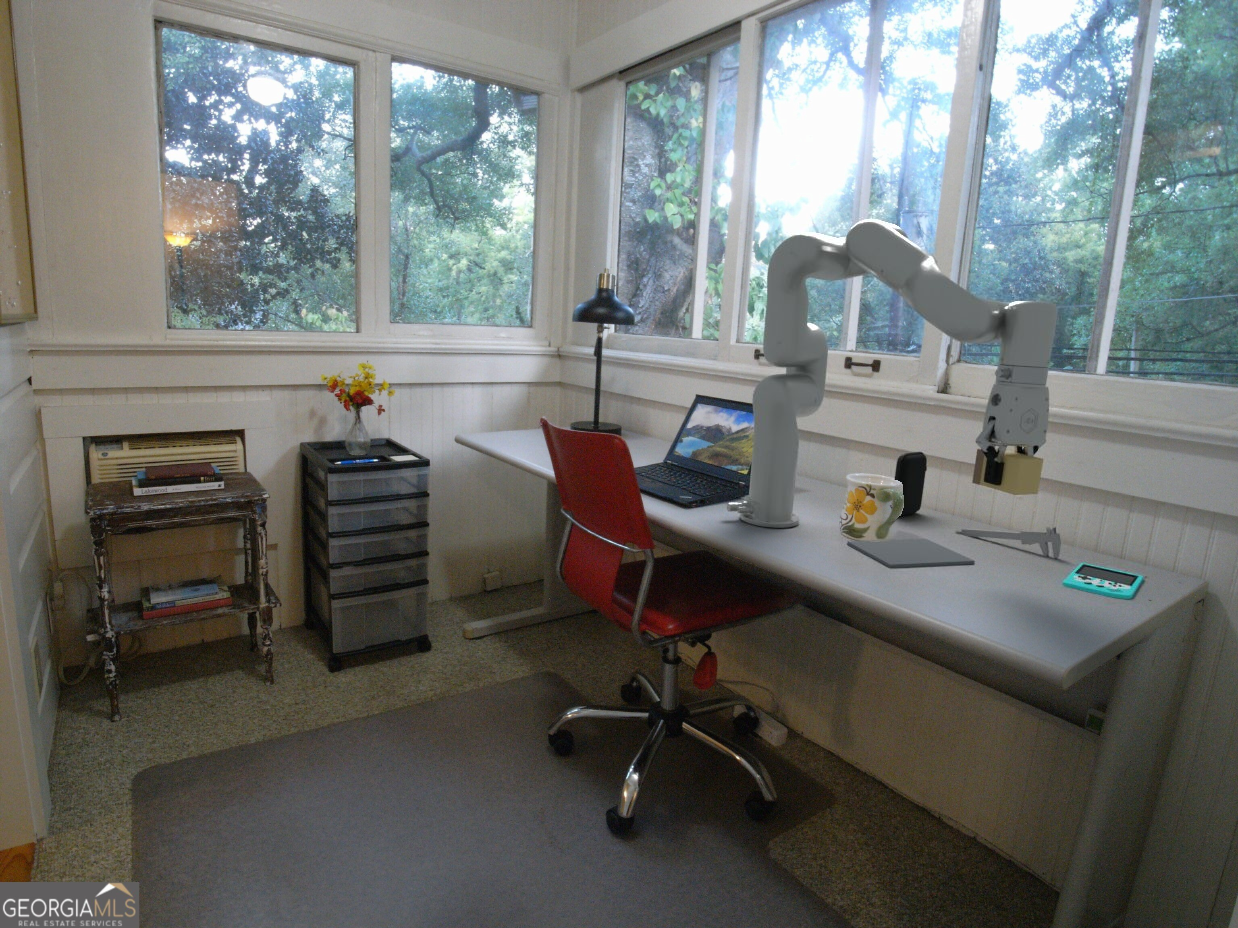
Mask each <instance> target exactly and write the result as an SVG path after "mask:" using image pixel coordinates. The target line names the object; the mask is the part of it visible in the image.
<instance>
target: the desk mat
mask: <svg viewBox="0 0 1238 928" xmlns="http://www.w3.org/2000/svg"><path fill="white" fill-rule="evenodd" d="M889 540H890V541H887V542H870V541H871V540H854V541H853V540H852V541H851V540H850V541H847V543H846V544H847V545H848V546H850V547H851V548H853V549H855V550H857V551H859V552H860V553H862V554H864V555H866V556H868V557H870V558H871V559H873V560H875V561H877V562H879V563H880V564H883V565H884V566H886V567H888V568H889V569H892V568H893V569H894V568H913V567H914V568H916V567H917V568H918V567H934V566H935V567H937V566H938V567H939V566H940V567H941V566H956V565H974V564H975V563H976V561H975V559H971V558H969V557H967V556H966V555H963V554H961V553H958V552H957V551H956V552H955V551H954V550H952V549H950V548H948V547H945V546H943V545H941V544H939V543H937V542H934V541H933V540H931V539H930V540H929V539H927V538H909V539H908V538H907V539H903V538H902V539H889Z"/></svg>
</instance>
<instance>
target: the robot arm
mask: <svg viewBox="0 0 1238 928" xmlns="http://www.w3.org/2000/svg"><path fill="white" fill-rule="evenodd" d="M773 251H774V252H773V253H772V255H771V257H770V259H769V262H768V267H767V272H766V273H767V274H766V285H767V287H766V307H765V318H764V327H763V328H764V331H763V341H762V342H763V343H762V351H763V356H764V359H765V361H766V362H767V363H768V364H770V365H771V366H773V367H778V368H786V369H785V373H778V374H777V373H776V374H771V375H769V376H766V377H764V378H763V379H761V380H760V381H759V382H758V383H757V385H756V386H755V388H754V390H753V393H752V414H753V443H752V457H751V469H750V478H749V481H750V482H749V491H748V496H747V497H744V498H743V499H744V500H741V501H740V502H727V503H726V510H727V512H736V513H737V514H739V517H740V520H742V521H743V522H745V523H748V524H751V525H753V526H758V527H764V528H775V529H776V528H777V529H783V528H784V529H786V528H787V529H788V528H792V527H797V526H798V525H799V524H800V517H799V516H798V515H797V514H795V513H793V512H794V511H793V510H794V503H795V502H794V501H795V491H796V480H797V467H798V461H799V460H798V459H799V449H800V434H799V427H798V423H797V419H798V418H805V417H809V416H811V415H814V414H815V413H816V412H817V411H818V410H819V409H820V407H821V405H822V403H823V401H824V397H825V391H826V378H827V368H828V358H829V357H828V353H829V346H828V339H827V337H826V335H825V333H824V331H823V330H822V329H821V327H819V326H817V325H816V324H813V323H811V322H808V318H809V317H808V315H809V314H808V313H809V307H810V304H809V302H810V300H809V293H808V288H807V282H806V281H807V280H808V279H815V280H822V281H823V280H824V281H831V282H832V281H842V280H847V279H851V278H852V279H853V278H856V277H862V276H867V275H871V276H873V277H874V278H876V280H879V281H880V283H883V284H884V285H885V286H886V287H888V288H889V289H890V290H892V291H893V292H894V293H897V294H898V295H899V296H901V298H902V299H903V300H904V302H905V303H907V305H908V306H909V307H910V308H912V309H913V311H914V312H915V313H917V314H918V316H920V317H921V318H923V319H924V320H925V321H927V322H928V323H929V324H931V325H932V326H933V327H935V328H937V330H938V331H940V332H942V333H944V335H946V336H947V337H949V338H951V339H952V340H955V341H957V342H960V343H963V344H982V345H983V344H986V345H987V344H998V343H1000V348H999V349H1000V350H999V355H998V362H997V363H998V364H997V368H996V370H995V373H994V375H995V382H994V383H993V386H992V387H991V391H990V393H989V397H988V401H987V404H986V409H985V412H984V417H983V423H982V430H981V432H980V433H979V435H978V436H977V437H976V439H975V443H976V445H977V446H978V447H979V449H981V450H982V452H983V453H984V458H985V459H987V461H986V468H985V474H984V482H986V483H990V484H993V485H997V486H998V485H1001V481H1002V475H1003V469H1004V462H1001V461H1002V459H1003V456H1004V454H1005V451H1006V450H1007V447H1014V452H1016V453H1020V454H1024V455H1029V456H1033V457H1035V455H1036V453H1037V452H1038V451H1039V449H1040V448H1041V447H1043V446H1044V445H1045V444H1046V442H1047V439H1046V438H1047V433H1048V425H1049V415H1050V390H1049V386H1047V382H1048V375H1049V370H1050V368H1049V367H1050V363H1051V362H1050V361H1051V356H1052V352H1053V350H1052V349H1053V345H1054V340H1055V339H1054V337H1055V333H1056V327H1057V326H1056V325H1057V321H1058V320H1057V319H1058V314H1059V313H1058V312H1059V311H1058V310H1059V309H1058V307H1057V305H1056V304H1055V303H1054V302H1051V301H1050V302H1049V301H1043V300H1041V301H1040V300H1016V301H1013V302H1006V301H1001V300H994V299H988V298H983V297H977V296H975V295H974V294H973V293H971V292H969V291H968V290H967V289H965V288H963V287H962V286H960V285H959V284H958V283H956V282H955V281H954V280H952V279H950V278H949V277H948V276H947V275H945V273H943V272H942V271H941V270H940V268H939V266H938V261H937V259H936V257H935V255H933V254H931V253H930V252H928V251H927V250H926V249H924V248H922V247H920V246H919V245H917V244H916V243H915V242H913V241H911V240H910V239H909V237H908V234H907V233H906V232H905V231H904V230H903V229H902V228H901V227H899V226H898V225H896V224H893V223H889V222H887V221H886V222H885V221H882V220H880V219H874V218H869V219H864V220H860V221H857V223H855V224H854V225H852V227H851V228H850V229H849V230H848V232H847V234H846V235H845V236H843V237H838V238H837V237H834V236H828V235H826V234H821V233H818V232H799V233H796V234H793V235H792V236H788V237H787V238H786V239H785V240H783V241H782V242H781V243H780V244H779V245H778V246H777V247H776V248H775V250H773ZM996 447H998V450H997V451H996V450H995V448H996Z"/></svg>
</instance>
